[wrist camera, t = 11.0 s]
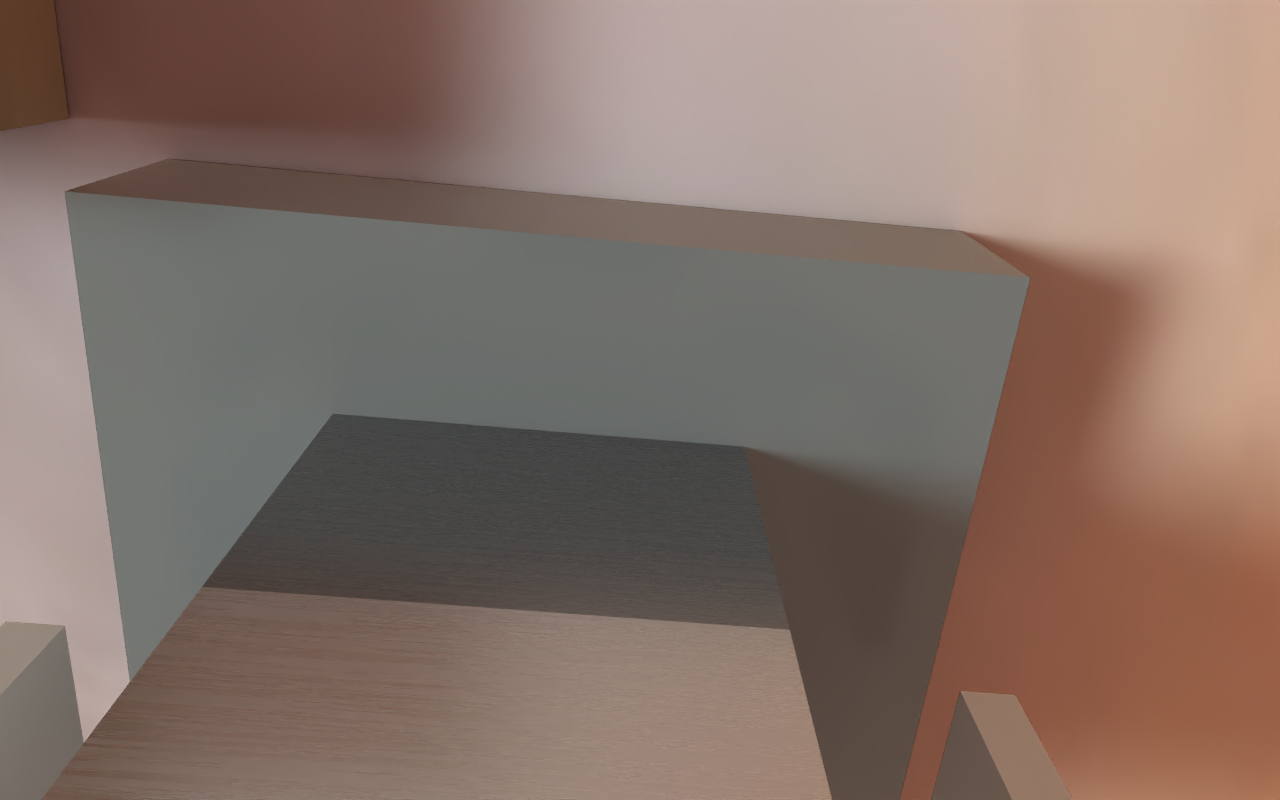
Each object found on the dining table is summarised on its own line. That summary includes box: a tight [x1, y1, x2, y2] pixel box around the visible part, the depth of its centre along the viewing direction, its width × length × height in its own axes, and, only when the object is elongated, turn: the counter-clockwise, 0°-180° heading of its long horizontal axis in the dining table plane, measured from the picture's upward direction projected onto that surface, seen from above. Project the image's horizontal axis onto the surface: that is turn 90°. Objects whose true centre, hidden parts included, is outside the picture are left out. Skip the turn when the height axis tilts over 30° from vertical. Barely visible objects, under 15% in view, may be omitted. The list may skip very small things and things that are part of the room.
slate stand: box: [65, 159, 1030, 800], centre depth 17 cm, size 13×13×3 cm
